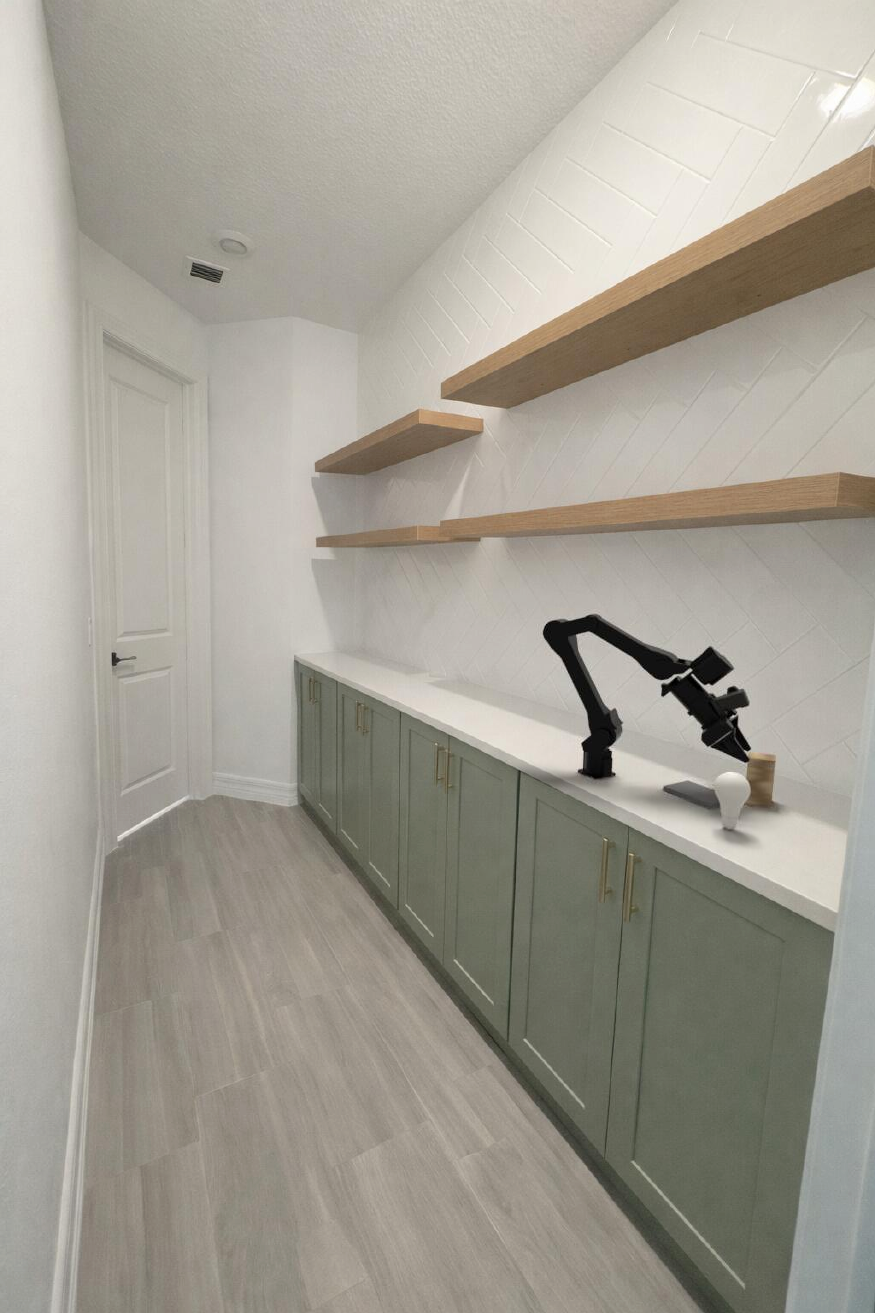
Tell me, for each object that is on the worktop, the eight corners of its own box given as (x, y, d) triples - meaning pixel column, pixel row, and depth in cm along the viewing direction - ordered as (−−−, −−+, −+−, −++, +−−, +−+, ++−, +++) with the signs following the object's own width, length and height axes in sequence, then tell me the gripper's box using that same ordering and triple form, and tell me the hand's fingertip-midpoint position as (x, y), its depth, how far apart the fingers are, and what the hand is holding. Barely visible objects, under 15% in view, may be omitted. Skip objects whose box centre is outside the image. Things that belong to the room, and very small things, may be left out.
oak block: (744, 803, 125) (747, 757, 124) (745, 796, 130) (748, 751, 128) (771, 808, 123) (775, 761, 122) (771, 800, 127) (775, 755, 126)
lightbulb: (727, 837, 109) (732, 779, 107) (703, 824, 115) (708, 768, 113) (754, 834, 110) (759, 776, 109) (730, 820, 116) (734, 766, 115)
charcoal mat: (663, 790, 133) (663, 786, 132) (687, 784, 136) (687, 780, 136) (710, 809, 122) (711, 804, 122) (735, 802, 126) (735, 797, 126)
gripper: (722, 682, 118) (782, 744, 115) (729, 669, 135) (781, 723, 131) (678, 716, 123) (734, 776, 119) (689, 700, 140) (738, 753, 136)
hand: (748, 755), depth 126 cm, fingers open, 9 cm apart
